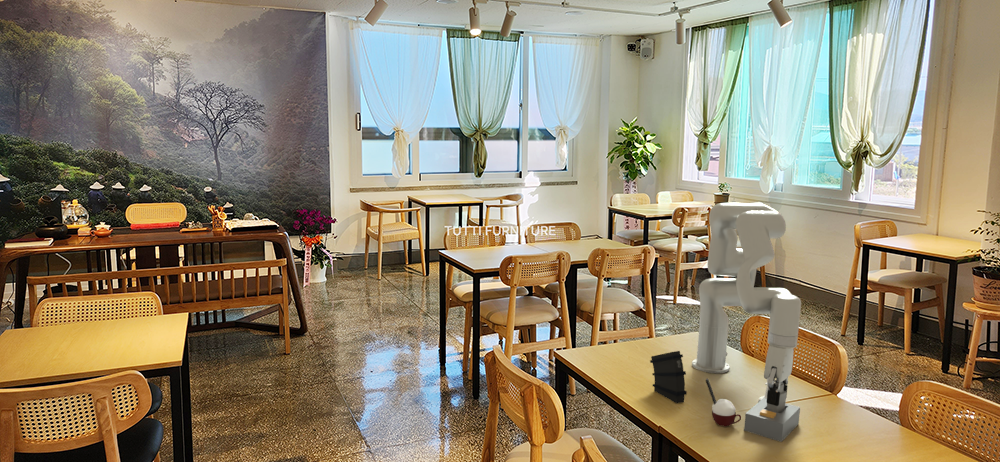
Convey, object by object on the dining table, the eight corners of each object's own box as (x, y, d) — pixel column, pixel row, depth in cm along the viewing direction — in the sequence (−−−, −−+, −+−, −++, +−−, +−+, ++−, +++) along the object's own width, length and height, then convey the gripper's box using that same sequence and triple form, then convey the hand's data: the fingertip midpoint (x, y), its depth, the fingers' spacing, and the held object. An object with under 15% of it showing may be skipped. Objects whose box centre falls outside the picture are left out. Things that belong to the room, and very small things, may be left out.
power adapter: (785, 415, 189) (789, 375, 187) (774, 420, 186) (779, 379, 184) (774, 412, 191) (778, 372, 189) (764, 416, 188) (768, 376, 186)
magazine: (683, 403, 198) (671, 351, 201) (656, 405, 209) (645, 357, 213) (693, 401, 199) (681, 350, 203) (665, 404, 211) (655, 356, 214)
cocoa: (743, 426, 186) (746, 385, 185) (729, 432, 183) (733, 390, 181) (713, 414, 194) (716, 374, 192) (700, 420, 190) (703, 379, 188)
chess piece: (775, 400, 206) (778, 368, 204) (776, 406, 201) (779, 374, 200) (758, 397, 208) (761, 366, 206) (758, 403, 203) (761, 372, 201)
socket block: (762, 413, 196) (764, 394, 195) (798, 423, 189) (800, 404, 188) (743, 430, 184) (745, 410, 183) (781, 441, 178) (783, 421, 177)
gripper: (778, 329, 194) (772, 388, 197) (758, 343, 181) (752, 406, 184) (806, 335, 189) (799, 395, 192) (786, 349, 176) (780, 414, 179)
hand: (776, 400), depth 188 cm, fingers closed on power adapter, 5 cm apart
